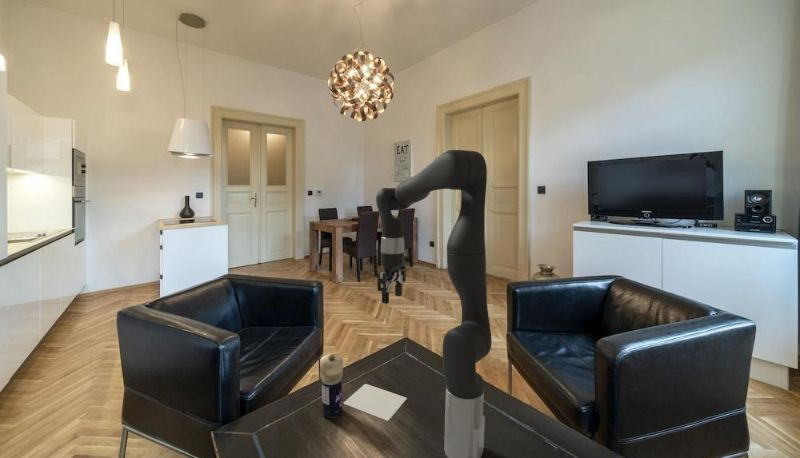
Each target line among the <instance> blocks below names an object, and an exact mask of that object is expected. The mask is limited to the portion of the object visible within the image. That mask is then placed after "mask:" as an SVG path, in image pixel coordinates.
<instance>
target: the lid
mask: <svg viewBox="0 0 800 458" xmlns="http://www.w3.org/2000/svg"><path fill="white" fill-rule="evenodd" d="M319 361H320V362H319V365H320V366H319V367H320V376H319V377H320V380H321V381H322V380H323V381H325V382H335V381H338V380H340V379H341V378H342V379H343V376H344V358H343V356H342V355H340V354H336V353H329V354H325V355H324V356H322V357H321V358H320V359H319Z"/></svg>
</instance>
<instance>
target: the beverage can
mask: <svg viewBox="0 0 800 458" xmlns="http://www.w3.org/2000/svg"><path fill="white" fill-rule="evenodd" d="M321 395H322V396H321V397H322V400H321V405H322V407H321V408H322V415H323V416H324V417H326V418H328V419H334V418H337V417H339V416H340V415H341V414H342V412H343V377H342V378H341V379H340V380H338V381H335V382H325V381H323V380H322V379H321Z"/></svg>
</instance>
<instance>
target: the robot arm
mask: <svg viewBox="0 0 800 458" xmlns="http://www.w3.org/2000/svg"><path fill="white" fill-rule="evenodd" d="M487 181H488V166H487V162H486V159H485V157H484V156H483V155H482V153H480V152H479V151H475V150H467V149H466V150H465V149H464V150H463V149H450V150H447V151H445V152H443V153H441V154H440V155H439V156H437V157H436V158H435V159H433V160H432V162H430V163H429V165H428V164H427V166H426V167H425V168H423V169H422V170H421V171H420V172H418V173H417V174H415V175H413V176H411V177H410V178H408V179H406V180H404V181H401V182H400V183H399V184H398V185H397V186H395V187H381V188H380V189H379V190H378V191H377V193H376V197H375V202H376V207H377V210H378V215H379V217H380V222H381V223H380V224H381V242H380V265H381V266H382V267H383V268H384V269H383V272H381V271H378V273H377V290H376V291H378V292H381V303H382V304H386V305H387V304H390V289H391V287H392V286H393V285H394V283H395V285H394V289H395V290H394V295H395V296H396V297H401V296H402V295H403V294H402V293H403V285H404V283H405V282H406V279H407V278H406V276H407V274H406V272H407V271H406V267H407V266H406V264H405V239H404V236H405V235H404V233H405V232H404V231H405V230H404V228H405V226H404V223H405V222H404V220H403V219H402V218H399V217H394V216H393V213H392V211H403V210H406V209H408V208H409V207H411V206H412V205H413V204H416V203H418V202H420V201H422V200H425V199H426V198H427V197H428V196H429V195H430V193H431V192H433V191H439V190H454V191H460V209H459V214H458V217H457V219H456V221H455V224H454V226H453V228H452V230H451V232H450V234H449V237H448V240H447V243H446V267H447V273H448V276H449V279H450V281H451V284H452V285H453V287H454V289H455V290H456V293H457V295H458V297H459V301H460V305H461V321H460V322H461V323H460V325H459V324H458V326H455V327H454V328H451V329H450V330H449V329H448V331H447V332H446V333H445V335H444V337H443V341H442V372H443V376H444V380H445V407H444V411H445V414H444V440H443V444H444V446H443V447H444V448H443V449H444V454H445V456H446V457H447V458H482V455H483V453H484V449H485V446H484V443H485V426H486V425H485V424H486V423H485V421H486V420H485V419H486V416H485V415H484V394H485V380H484V377H482V375H481V374H480V373H478V372H477V371H476V370H477V369H476V367H477V366H476V364H477V363H478V362H479V361H481V360H482V359H484V358H485V357H487V355H489V353H490V351H491V349H492V343H493V342H492V340H493V339H492V330H491V322H490V318H489V309H488V293H487V292H488V291H487V288H488V287H487V256H486V255H487V252H486V251H487V250H486V235H485V234H486V233H485V229H486V228H485V227H486V226H485V221H486V218H485V215H486V214H485V213H486V198H487V197H486V194H487Z"/></svg>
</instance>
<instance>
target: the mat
mask: <svg viewBox="0 0 800 458" xmlns="http://www.w3.org/2000/svg"><path fill="white" fill-rule="evenodd" d="M406 400H408V397H405V396H402V395H399V394H397V393H394V392H390V391H387V390H385V389H383V388H380V387H377V386H373V385H370V384H368V383H364V384H363V385H362V386H360V388H358V390H356V391H355V392H354V393H353V394H352V395H351V396H349V398H347V399H346V400H345V401H343V402H342V405H343V404H344V405H345V406H346V405H347V406H349V407H351V408H354V409H356V410H359V411H361V412H363V413H367V414H369V415H372V416H374V417H377V418H379V419H381V420H385V421H386V422H388V421H390V419H391V418H392V417H393V416H394V415H395V413H396V412H397V411H398V410H399V408H401V406H402V405H403V404H404V403H405V401H406Z"/></svg>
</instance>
